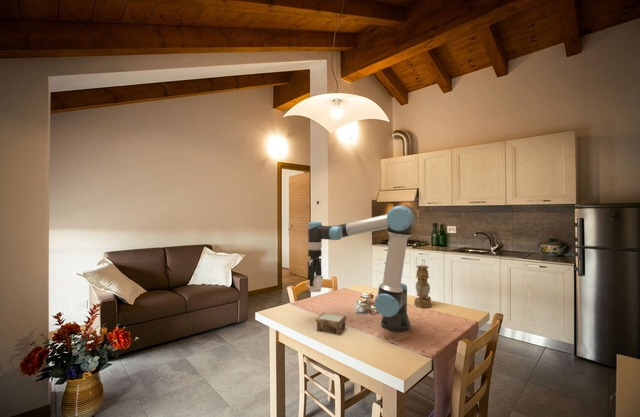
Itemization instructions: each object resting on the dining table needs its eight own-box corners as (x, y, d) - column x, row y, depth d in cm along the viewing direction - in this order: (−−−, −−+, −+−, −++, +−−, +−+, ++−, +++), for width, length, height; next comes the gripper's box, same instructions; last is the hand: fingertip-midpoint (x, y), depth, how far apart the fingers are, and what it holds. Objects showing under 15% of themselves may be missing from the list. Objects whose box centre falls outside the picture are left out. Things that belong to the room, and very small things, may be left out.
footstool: (346, 327, 159) (346, 316, 159) (340, 335, 149) (340, 323, 149) (323, 324, 164) (323, 312, 164) (315, 330, 154) (316, 319, 154)
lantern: (432, 310, 187) (432, 261, 187) (414, 308, 190) (415, 260, 190) (430, 302, 202) (430, 257, 202) (413, 301, 205) (414, 257, 205)
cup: (320, 293, 164) (320, 278, 164) (304, 291, 169) (304, 276, 169) (325, 290, 171) (325, 276, 171) (309, 288, 175) (309, 274, 175)
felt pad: (343, 316, 158) (343, 316, 158) (338, 322, 151) (338, 321, 151) (324, 313, 162) (324, 313, 162) (318, 318, 155) (318, 318, 155)
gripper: (315, 246, 180) (315, 285, 180) (301, 251, 162) (301, 294, 162) (327, 247, 177) (327, 286, 177) (313, 252, 159) (313, 295, 159)
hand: (314, 290), depth 170 cm, fingers closed on cup, 7 cm apart
